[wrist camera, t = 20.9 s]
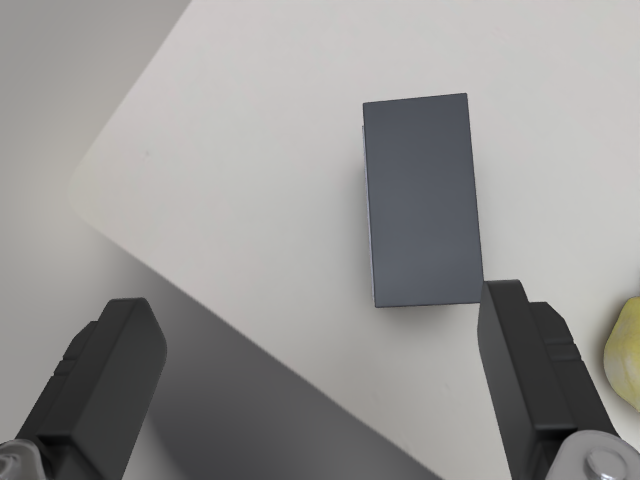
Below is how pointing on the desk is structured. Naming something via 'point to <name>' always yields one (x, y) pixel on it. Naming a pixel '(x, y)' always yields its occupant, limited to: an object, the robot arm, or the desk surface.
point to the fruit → (625, 354)
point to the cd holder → (422, 202)
